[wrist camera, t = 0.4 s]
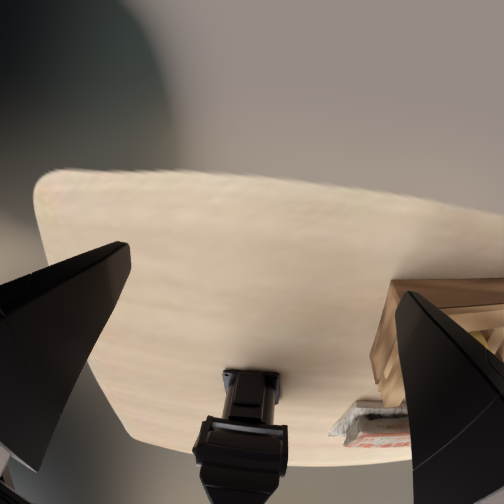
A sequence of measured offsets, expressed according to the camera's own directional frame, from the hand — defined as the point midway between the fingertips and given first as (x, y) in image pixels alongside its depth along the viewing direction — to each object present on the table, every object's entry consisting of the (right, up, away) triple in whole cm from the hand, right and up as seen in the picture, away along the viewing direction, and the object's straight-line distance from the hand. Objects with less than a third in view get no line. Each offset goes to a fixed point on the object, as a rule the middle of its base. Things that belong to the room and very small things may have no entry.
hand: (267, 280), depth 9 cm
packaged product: (+21, -24, +28) cm, 43 cm away
